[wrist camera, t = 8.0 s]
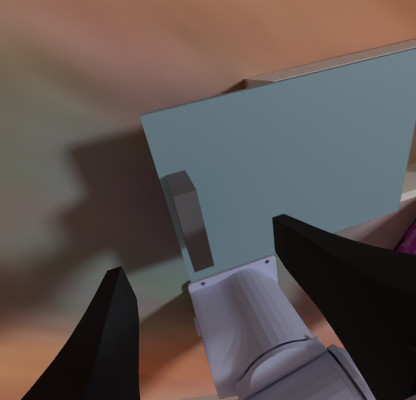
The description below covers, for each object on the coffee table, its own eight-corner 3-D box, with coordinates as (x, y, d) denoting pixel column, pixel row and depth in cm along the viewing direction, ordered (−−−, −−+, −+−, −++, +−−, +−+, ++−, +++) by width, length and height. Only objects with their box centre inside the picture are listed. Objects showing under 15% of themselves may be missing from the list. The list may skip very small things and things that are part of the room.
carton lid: (189, 276, 20) (200, 314, 17) (139, 114, 14) (141, 126, 11) (392, 207, 22) (435, 229, 19) (420, 46, 17) (487, 40, 13)
